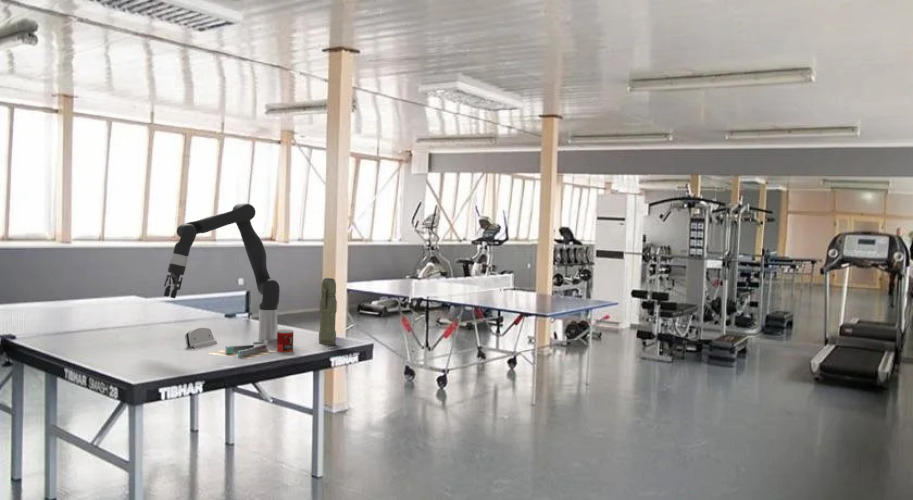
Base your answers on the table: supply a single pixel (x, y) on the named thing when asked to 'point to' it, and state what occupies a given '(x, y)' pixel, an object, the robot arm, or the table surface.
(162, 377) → the table surface
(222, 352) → the board
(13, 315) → the table surface
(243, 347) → the tong arm
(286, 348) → the canned food
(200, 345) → the grey curved block
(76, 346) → the table surface
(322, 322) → the green moai statue
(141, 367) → the table surface
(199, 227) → the robot arm
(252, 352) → the tongs fixed
